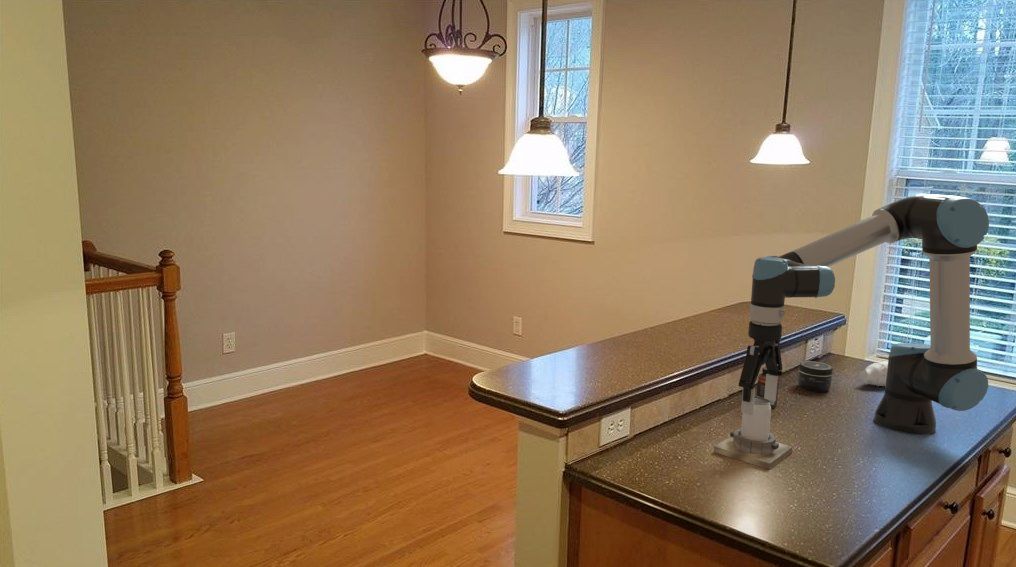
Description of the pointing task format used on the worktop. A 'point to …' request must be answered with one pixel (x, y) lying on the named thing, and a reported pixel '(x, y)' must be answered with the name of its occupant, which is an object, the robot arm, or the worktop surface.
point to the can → (757, 421)
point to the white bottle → (875, 374)
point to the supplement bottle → (762, 387)
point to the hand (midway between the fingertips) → (758, 406)
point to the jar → (815, 376)
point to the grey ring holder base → (753, 450)
